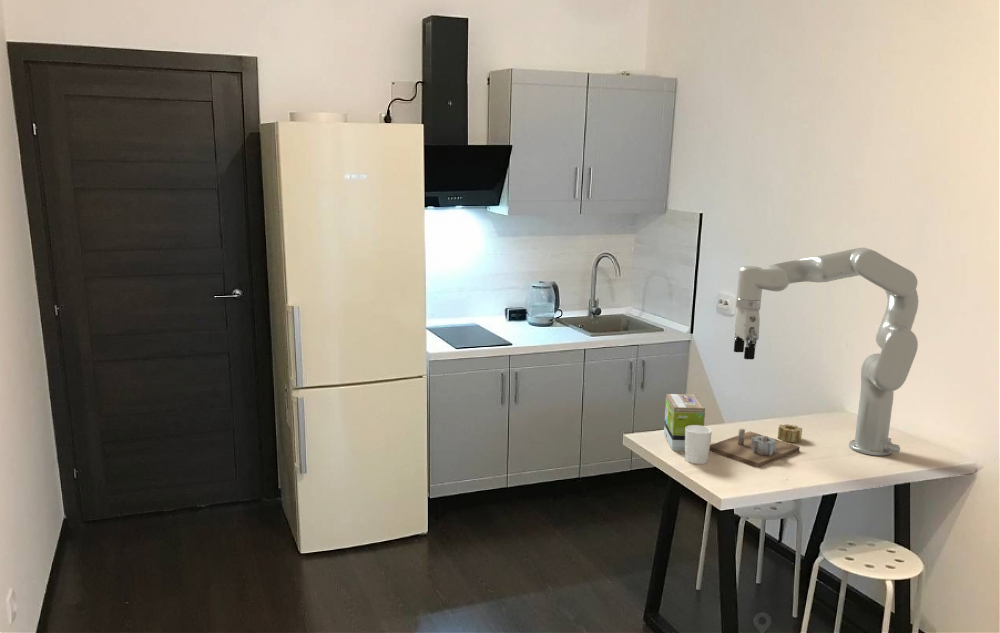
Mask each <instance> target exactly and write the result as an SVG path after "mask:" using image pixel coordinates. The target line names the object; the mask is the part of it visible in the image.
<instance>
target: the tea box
mask: <svg viewBox="0 0 1000 633" xmlns="http://www.w3.org/2000/svg"><path fill="white" fill-rule="evenodd" d="M705 415H706V408H705V406H704V405H703V404H702V402H701V401H700V399H699V398H698V397H697V395H696V394H693V393H692V394H691V393H690V394H689V393H688V394H686V393H684V394H681V393H679V394H678V393H666V394H665V409H664V428H663V434H664V437H665V438H666V440H667V443H668V445H669V447H670V448H671V451H683V452H685V427H686V426H689V425H700V426H705Z"/></svg>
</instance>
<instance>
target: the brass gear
mask: <svg viewBox="0 0 1000 633" xmlns="http://www.w3.org/2000/svg"><path fill="white" fill-rule="evenodd" d="M802 432H803V427H799V426H798V425H793V424H789V423H785V424H779V426H778V431H777V440H780V441H783V442H786V443H790V444H794V443H801V440H802Z"/></svg>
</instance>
